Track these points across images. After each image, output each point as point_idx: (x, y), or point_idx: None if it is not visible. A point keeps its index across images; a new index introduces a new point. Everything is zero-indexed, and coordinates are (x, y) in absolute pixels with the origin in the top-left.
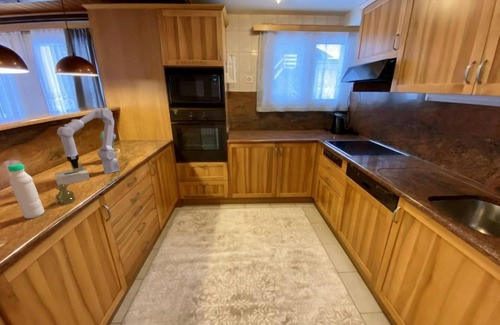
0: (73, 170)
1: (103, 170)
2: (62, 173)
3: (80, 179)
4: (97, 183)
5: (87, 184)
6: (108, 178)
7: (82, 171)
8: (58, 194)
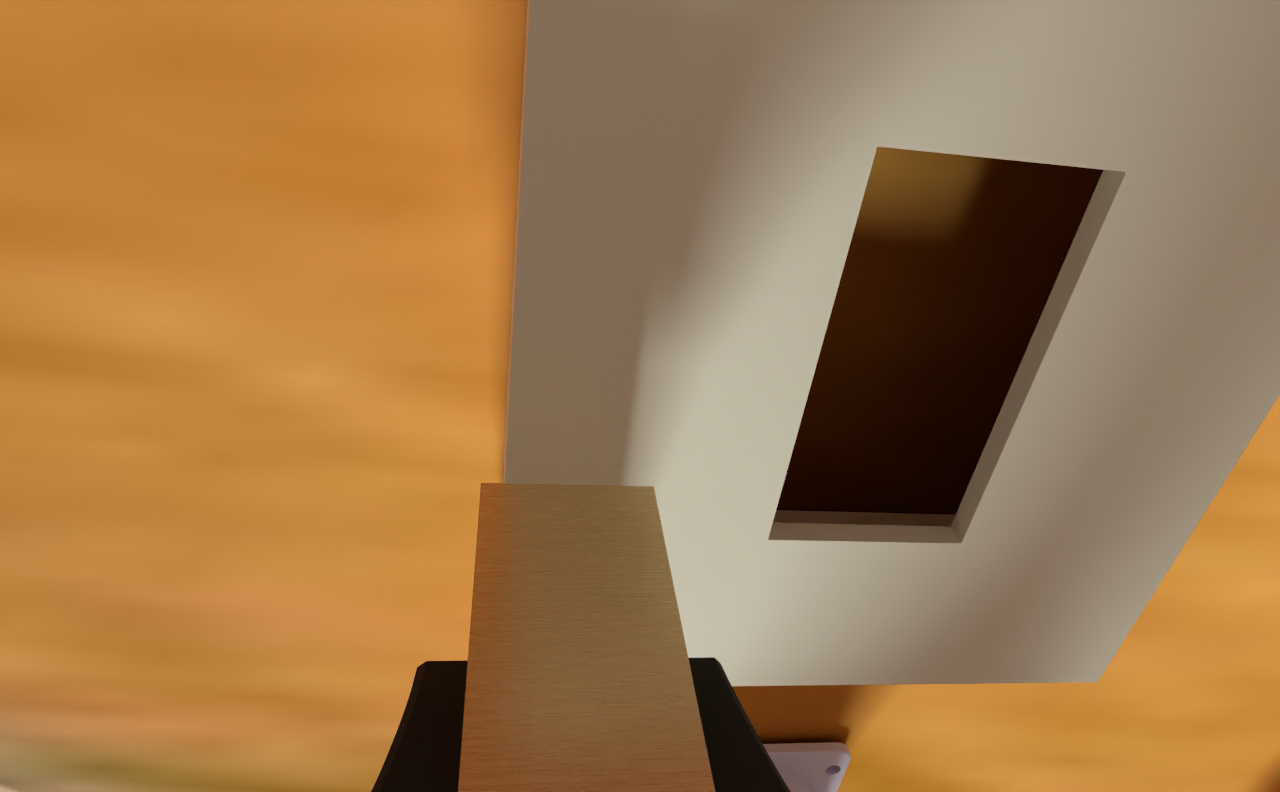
0: (479, 558)
1: (840, 759)
2: (1181, 125)
3: (507, 405)
4: (53, 596)
5: (127, 444)
6: (271, 754)
7: (736, 604)
8: None
